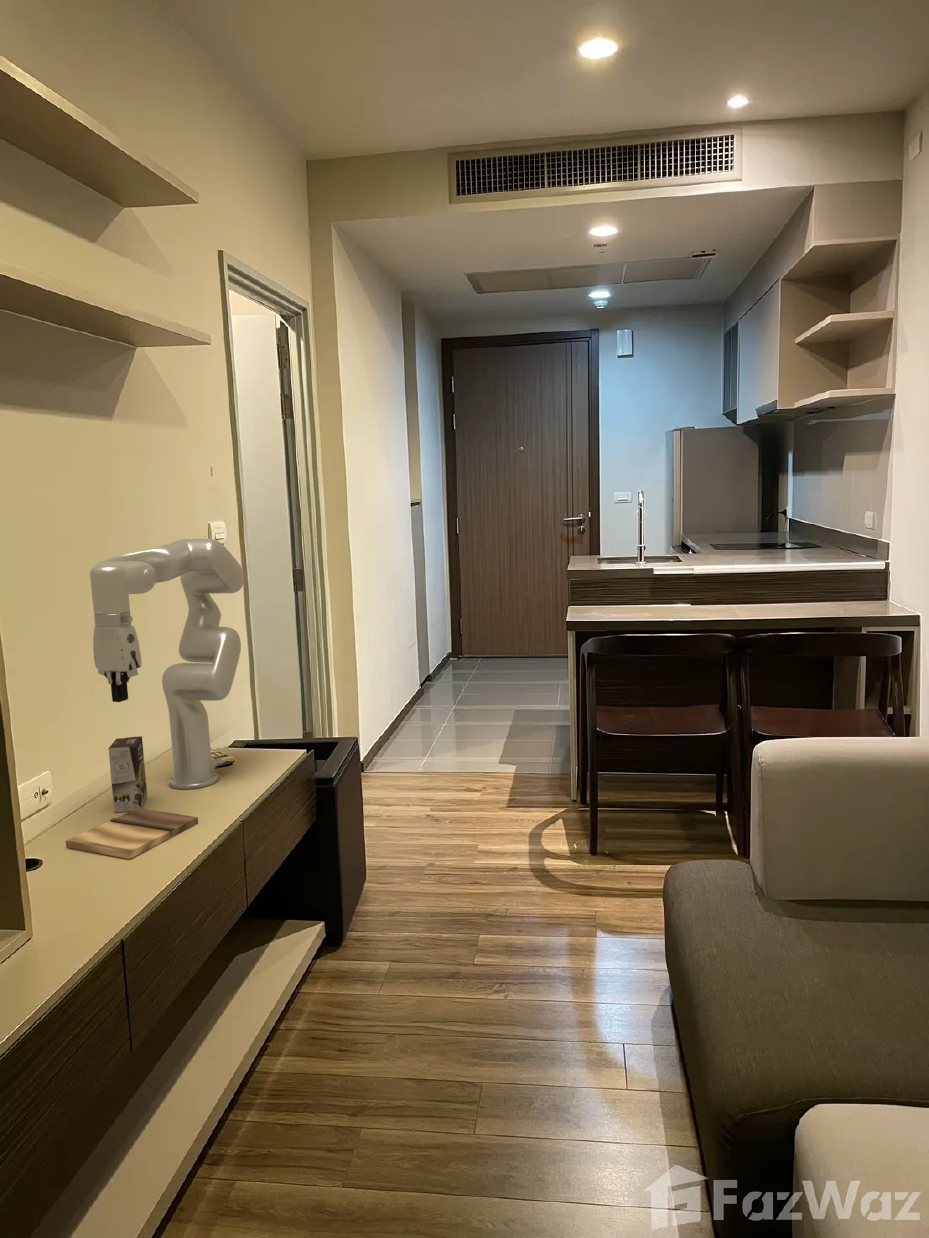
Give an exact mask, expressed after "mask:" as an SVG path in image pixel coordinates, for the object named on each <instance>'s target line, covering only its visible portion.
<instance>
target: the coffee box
mask: <svg viewBox="0 0 929 1238" xmlns="http://www.w3.org/2000/svg"><path fill="white" fill-rule="evenodd" d="M107 750H108V757H109V760H108V761H109V770H110V781H111V791H112V803H113V812H114V813H123V812H124V813H125V812H126V813H128V812H130V811H132V810H134V809H136V808H142V809H143V807H144V805H145V803H146V802H147V800H148V787H147V777H146V776H147V775H146V774H147V773H146V764H145V754H144V743H143V736H131V737H122V738H115V740H114V741H113V742H112V743H111V744H110V746H109V747H108V749H107Z"/></svg>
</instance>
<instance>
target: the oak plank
mask: <svg viewBox="0 0 929 1238" xmlns="http://www.w3.org/2000/svg"><path fill="white" fill-rule="evenodd" d="M170 839H171V837H170V832H169V831H163V830H157V829H151V828H145V827H138V826H132V825H126V824H120V823H114V822H110V821H107V822H105V823H102V824H100V825H97V826H95V827H93V828H90V829H89V830H86V831H84V832H82V833H80V834H76V836H73V837H71V838H67V839H65V848H69V849H73V850H79V851H84V852H89V853H95V854H101V855H105V856H111V857H117V858H121V859H122V858H123V859H127V860H131V859H133V858H134V857H137V856H138V855H140V854H142V853H144V852H146V851H148V850H150V849H152V848H154V847H155V845H156V846H159V844H162V843H164V842H166V841H168V840H170ZM165 840H166V841H165ZM163 841H164V842H163Z"/></svg>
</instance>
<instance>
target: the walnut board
mask: <svg viewBox="0 0 929 1238" xmlns="http://www.w3.org/2000/svg"><path fill="white" fill-rule="evenodd" d="M109 822H114V823H120V824H126V825H132V826H138V827H145V828H151V829H157V830H163V831H169V832H170V838H173V837H175V836H177V835H179V834H181V833H183V832H185V831H186V829H187V830H189V829H191V828H193V827H194V826H196V825H197V824H198V825H199V817H198V816H192V815H186V814H179V813H173V812H167V811H161V810H155V809H154V810H153V809H147V808H143V807H142V808H136V809H134V810H132V811H127V812H126V813H124V814H122V815H119V816H118V817H115V818H114V817H113V818H111V819H110V820H109ZM195 824H196V825H195ZM193 825H194V826H193ZM184 830H185V831H184Z"/></svg>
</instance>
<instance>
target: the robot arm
mask: <svg viewBox="0 0 929 1238" xmlns="http://www.w3.org/2000/svg"><path fill="white" fill-rule="evenodd" d="M178 577H180V582H181V583H180V584H181V587H182V589H183V592H184V595H185V597H186V600H187V601H186V602H187V605H188V606H187V607H188V612H187V616H186V620H185V623H184V628H183V630H182V634H181V637H180V641H179V645H178V653H179V656H180V657H181V659H182V660H184V661H186V662H181V663H175V664H171V665H170V666H168V667H167V668H166V669H165V670H164V672H163V674H162V677H161V685H162V690H163V693H164V696H165V699H166V704H167V708H168V715H169V716H168V717H169V718H168V719H169V726H170V737H171V738H170V740H171V750H172V751H171V752H172V759H173V760H172V761H173V774H174V775H173V776H171V777H170V778H169V779H168V785H169V787H171V788H173V789H177V790H178V789H179V790H191V789H199V788H204V787H207V786H210V785H212V784H215V783H216V782H217V781H219V778H220V777H219V776H220V775H219V773H218V772H217V771H216V770H215V769H216V767H218V766H221V765H223V763H224V760H223V758H222V757H217V758H215V759H212V752H211V750H212V749H211V740H210V726H209V716H208V715H209V714H208V711H207V709H206V707H205V705H204V704H203V702H202V701H205V702H206V701H208V702H209V701H210V702H211V701H212V702H213V701H214V702H215V701H217V702H218V701H222V700H224V699H226V698H227V697H228V696H229V694H230V692H231V690H232V686H233V682H234V679H235V675H236V672H237V668H238V664H239V660H240V656H241V655H240V654H241V649H242V644H241V643H242V642H241V637H240V635H239V633H238V632H237V630H235V629H234V628H233V627H229V626H220V623H221V619H222V618H221V616H222V614H221V613H222V612H221V610H220V608H219V606H218V605H217V603H216V601H214V599H213V597H212V596H211V594H236V593H238V592H239V591H240V590H241V589H243V586H244V584H245V574H244V570H243V567H242V566H241V564H240V563H239V562H238V560H237V559H236V558H235V556H233V554H231V552H230V551H229V550H228V549H227V547H225V546H224V544H223V543H221V542H220V541H218V540H217V539H214V538H184V539H179V540H175V541H172V542H169V543H166V544H164V545H162V546H157V547H155V548H151V549H150V548H149V549H146V550H142V551H141V550H140V551H136V552H131V553H126V554H123V555H122V554H121V555H116V556H113V557H110V558H106V559H104V560H102V561H99V562H98V563H97V564H96V565H95V566H94V567H92V568H91V569H90V573H89V578H90V587H91V588H90V589H91V597H92V598H91V599H92V607H93V609H92V610H93V616H94V617H93V619H94V628H93V635H92V636H93V638H92V640H93V641H92V647H93V648H92V649H93V650H92V651H93V652H92V654H93V660H94V666H95V668H96V669H97V673H98V675H102V676H103V677H105V678H106V680H107V683H108V684H109V685H110V691H111V701H112V703H113V702H114V703H121V702H124V701H125V702H126V701H127V700H128V699H129V691H128V690H129V689H128V683H129V682H130V679H131V678H132V677H135V676H138V675H139V673H138V669H140V668H141V667H142V655H141V648H140V642H139V638H138V634H137V631H136V628H135V626H134V625H132V622H133V617H132V615H131V608H130V598H129V597H130V596H129V595H138V594H139V595H142V594H146V593H147V592H149V591H151V590H152V589H153V588H154V587H155V585H156V584H159V583H165V582H169V581H171V580H173V579H176V578H178Z"/></svg>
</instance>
